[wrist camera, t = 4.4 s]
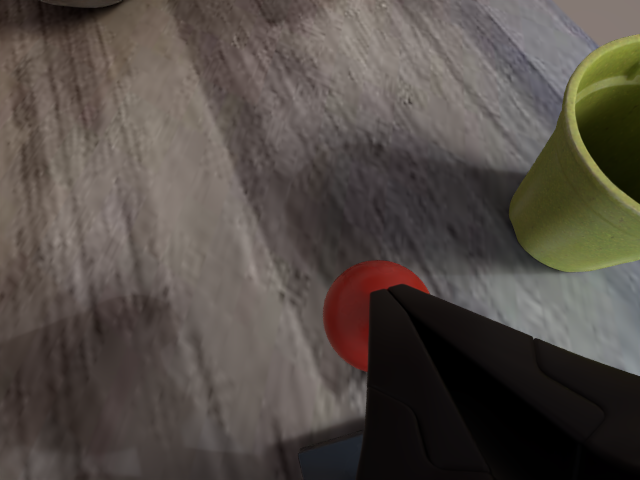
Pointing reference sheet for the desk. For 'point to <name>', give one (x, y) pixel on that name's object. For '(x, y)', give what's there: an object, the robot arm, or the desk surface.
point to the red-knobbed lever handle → (359, 306)
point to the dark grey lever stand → (332, 458)
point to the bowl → (82, 3)
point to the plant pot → (588, 169)
